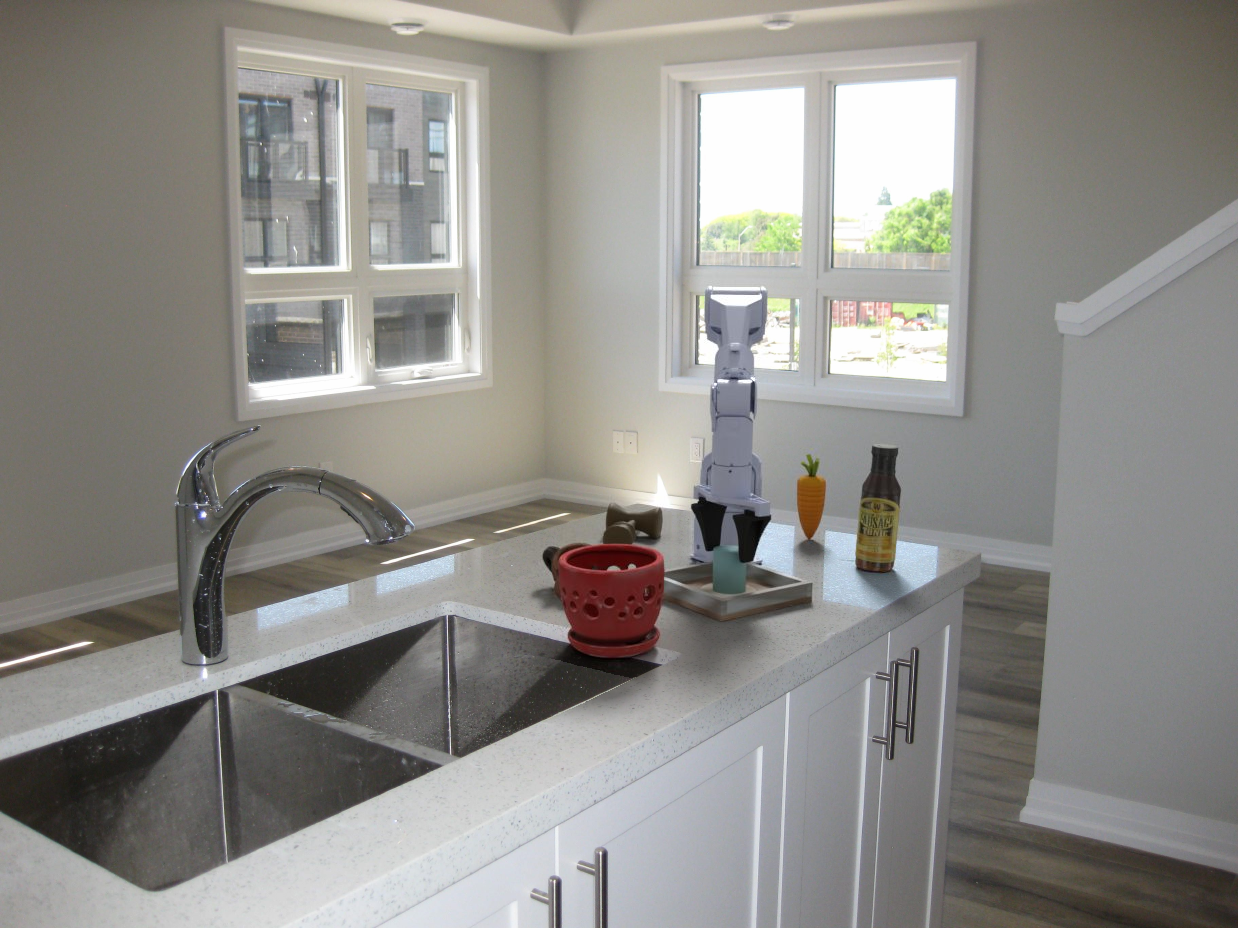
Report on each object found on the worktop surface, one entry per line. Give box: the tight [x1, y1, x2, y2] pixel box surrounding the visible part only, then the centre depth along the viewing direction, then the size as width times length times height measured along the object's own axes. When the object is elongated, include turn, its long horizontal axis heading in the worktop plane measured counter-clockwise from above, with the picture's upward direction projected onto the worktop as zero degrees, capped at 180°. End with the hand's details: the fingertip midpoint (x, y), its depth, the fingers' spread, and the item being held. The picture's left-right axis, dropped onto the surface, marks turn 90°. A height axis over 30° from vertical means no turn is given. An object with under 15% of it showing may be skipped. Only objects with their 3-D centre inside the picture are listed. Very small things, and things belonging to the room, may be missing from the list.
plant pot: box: [558, 543, 666, 659], centre depth 143 cm, size 13×13×12 cm
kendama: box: [602, 501, 664, 545], centre depth 200 cm, size 6×10×20 cm
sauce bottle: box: [854, 443, 902, 573], centre depth 182 cm, size 7×6×20 cm
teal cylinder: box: [713, 545, 746, 594], centre depth 167 cm, size 5×5×6 cm
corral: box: [645, 561, 813, 622], centre depth 167 cm, size 17×17×3 cm
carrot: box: [796, 453, 827, 540], centre depth 201 cm, size 5×5×15 cm
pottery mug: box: [541, 542, 598, 600], centre depth 169 cm, size 12×10×8 cm
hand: (729, 555), depth 166 cm, fingers open, 7 cm apart
